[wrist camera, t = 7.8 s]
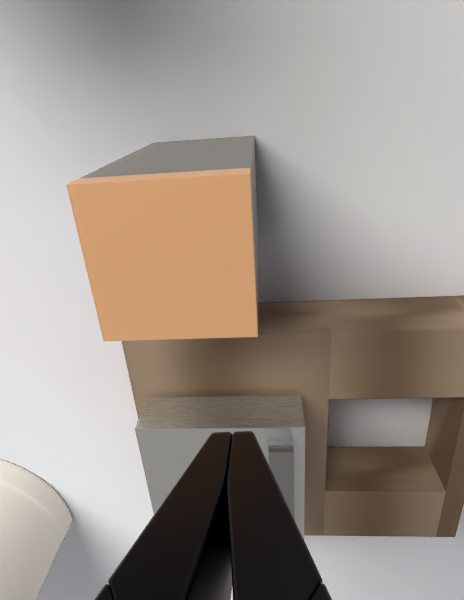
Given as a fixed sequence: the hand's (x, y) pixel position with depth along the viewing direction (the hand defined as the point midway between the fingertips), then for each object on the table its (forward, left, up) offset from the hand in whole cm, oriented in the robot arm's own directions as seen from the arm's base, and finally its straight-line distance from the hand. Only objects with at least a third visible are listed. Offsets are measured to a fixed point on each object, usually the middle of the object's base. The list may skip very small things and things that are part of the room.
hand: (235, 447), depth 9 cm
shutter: (+1, +9, -9) cm, 13 cm away
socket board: (-2, +9, -12) cm, 15 cm away
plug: (+2, -3, -12) cm, 13 cm away
